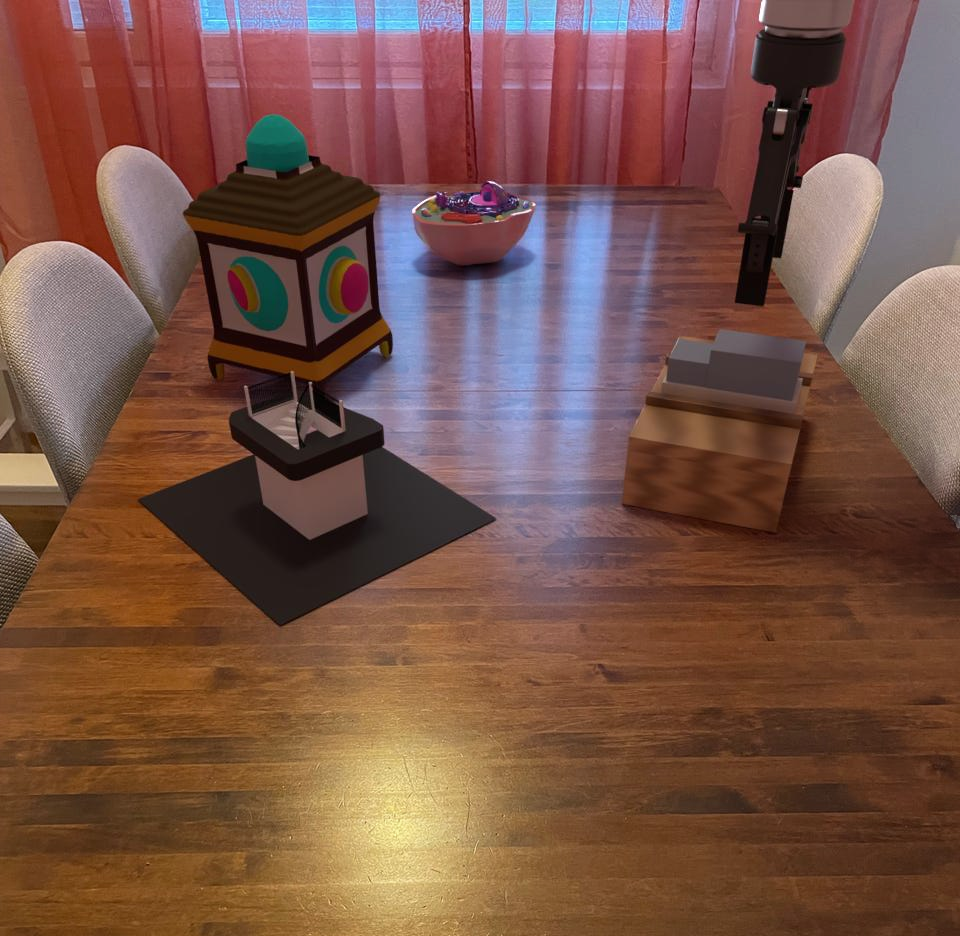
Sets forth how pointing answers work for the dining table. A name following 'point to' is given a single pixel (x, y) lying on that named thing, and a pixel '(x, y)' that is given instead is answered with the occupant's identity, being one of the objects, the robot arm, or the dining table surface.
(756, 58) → the robot arm
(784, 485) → the stepped wooden block
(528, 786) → the dining table surface
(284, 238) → the decorative lantern
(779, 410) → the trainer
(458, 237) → the cell model
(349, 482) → the black-topped pedestal
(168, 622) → the dining table surface
